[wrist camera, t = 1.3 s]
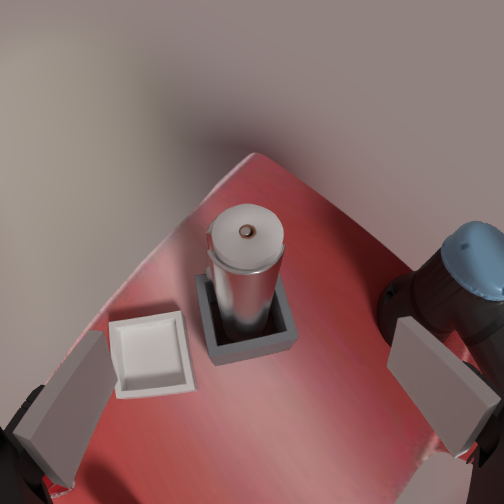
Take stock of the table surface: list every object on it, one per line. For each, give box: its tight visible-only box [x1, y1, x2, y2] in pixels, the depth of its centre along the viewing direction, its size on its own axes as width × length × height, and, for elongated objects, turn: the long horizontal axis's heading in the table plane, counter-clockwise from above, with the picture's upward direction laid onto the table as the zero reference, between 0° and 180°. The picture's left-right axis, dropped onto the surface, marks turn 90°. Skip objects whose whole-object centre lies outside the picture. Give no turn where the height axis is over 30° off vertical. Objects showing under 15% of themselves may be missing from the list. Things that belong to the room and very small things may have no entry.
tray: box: [109, 310, 198, 399], centre depth 39 cm, size 12×12×3 cm
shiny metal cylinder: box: [206, 204, 286, 342], centre depth 33 cm, size 6×6×25 cm
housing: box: [195, 265, 299, 366], centre depth 40 cm, size 11×12×10 cm
